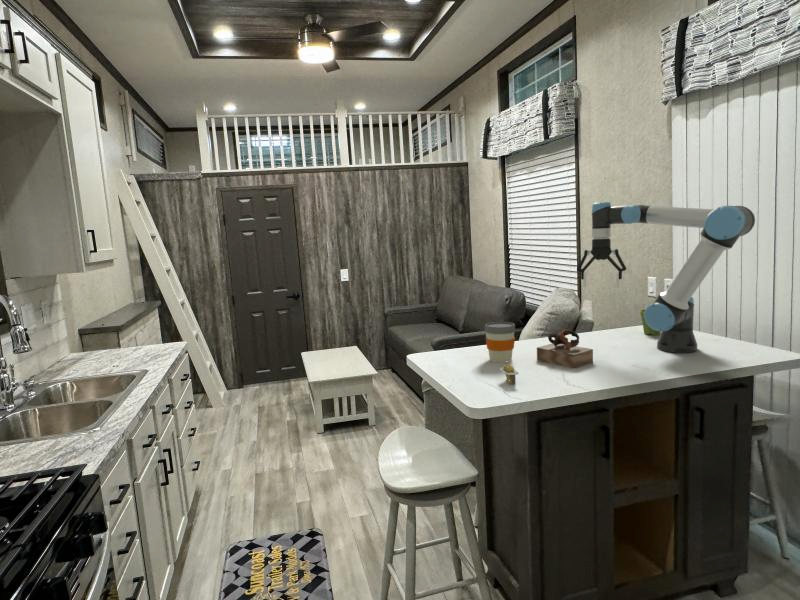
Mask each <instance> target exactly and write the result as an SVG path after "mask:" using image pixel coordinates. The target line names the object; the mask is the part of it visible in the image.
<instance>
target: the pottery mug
mask: <svg viewBox="0 0 800 600" xmlns="http://www.w3.org/2000/svg"><path fill="white" fill-rule="evenodd" d="M569 334H570V335H571V337H574V338H575V339H570V341H569V338H567V336H569ZM553 338H554V339H553ZM547 339H548V341H549V342H550V344H552V343H553V344H554V346H557V345H559V344H563V345H566V347H565V349H566V350H569V349H570V348H573V347H575V346H577V347H578V345H579V343H580V336H579V334H578V333H577V332H576V331H573V330H571V329H563V330H562V331H561V332H559V333H554V332H552V333H550V334H549V335H547Z"/></svg>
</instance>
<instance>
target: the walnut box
mask: <svg viewBox="0 0 800 600" xmlns="http://www.w3.org/2000/svg"><path fill="white" fill-rule="evenodd" d="M565 347H566V345H563V344H559V345H557V346H554V344H553V343H550V344H545V345H541V346H538V347H536V361H537V360H538V362H542V363H547V364H551V363H552V364H551V365H556V366H561V367H566V368H569V369H574V368H575V369H577V368H580V367H584V366H586V364H587V365H590V364H593V363H594V349H593V348H590V347H589V348H588V347H581V346H578V345H577V346H575V347H573V348H570V349H569V350H566V349H565Z"/></svg>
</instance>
